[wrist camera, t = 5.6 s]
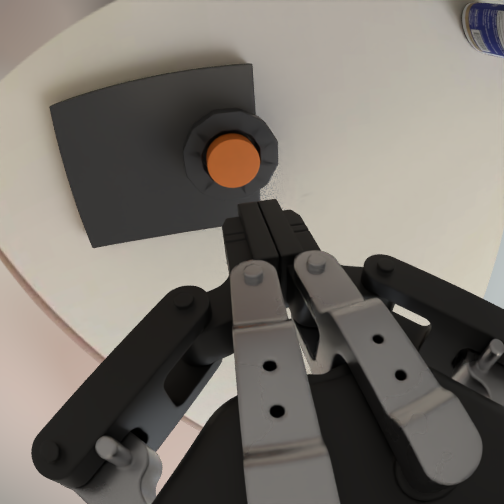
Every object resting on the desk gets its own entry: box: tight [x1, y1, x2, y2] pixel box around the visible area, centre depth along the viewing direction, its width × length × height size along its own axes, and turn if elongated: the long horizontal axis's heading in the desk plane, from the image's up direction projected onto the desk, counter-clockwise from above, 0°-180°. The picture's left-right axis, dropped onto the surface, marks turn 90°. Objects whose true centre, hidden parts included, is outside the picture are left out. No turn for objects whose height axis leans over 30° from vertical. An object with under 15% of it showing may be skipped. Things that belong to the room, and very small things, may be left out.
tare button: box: [206, 133, 260, 188], centre depth 18 cm, size 3×3×2 cm
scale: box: [50, 64, 278, 248], centre depth 19 cm, size 12×15×3 cm
